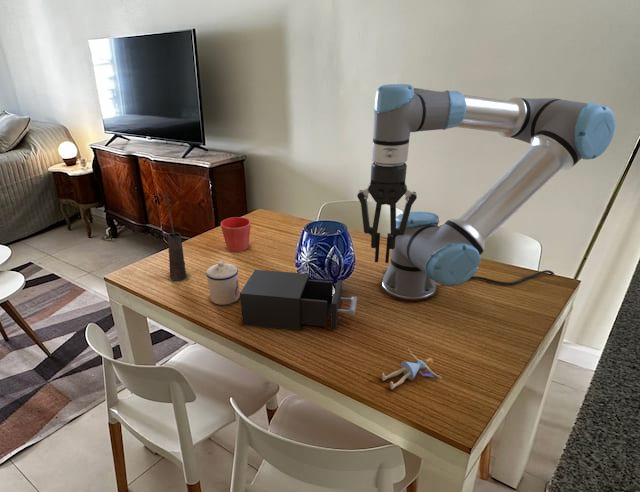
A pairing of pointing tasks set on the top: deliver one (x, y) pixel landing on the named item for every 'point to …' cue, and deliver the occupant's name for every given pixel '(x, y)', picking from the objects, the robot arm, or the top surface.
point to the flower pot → (236, 233)
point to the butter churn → (175, 252)
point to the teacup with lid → (223, 283)
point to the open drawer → (323, 303)
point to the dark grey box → (273, 299)
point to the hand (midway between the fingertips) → (381, 260)
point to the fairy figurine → (410, 370)
